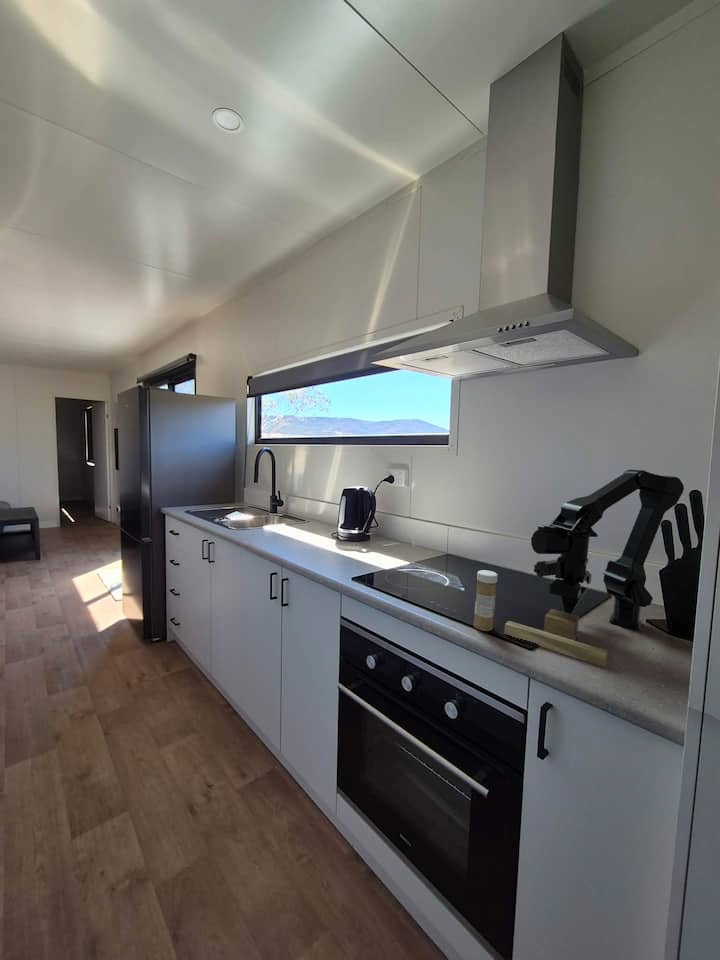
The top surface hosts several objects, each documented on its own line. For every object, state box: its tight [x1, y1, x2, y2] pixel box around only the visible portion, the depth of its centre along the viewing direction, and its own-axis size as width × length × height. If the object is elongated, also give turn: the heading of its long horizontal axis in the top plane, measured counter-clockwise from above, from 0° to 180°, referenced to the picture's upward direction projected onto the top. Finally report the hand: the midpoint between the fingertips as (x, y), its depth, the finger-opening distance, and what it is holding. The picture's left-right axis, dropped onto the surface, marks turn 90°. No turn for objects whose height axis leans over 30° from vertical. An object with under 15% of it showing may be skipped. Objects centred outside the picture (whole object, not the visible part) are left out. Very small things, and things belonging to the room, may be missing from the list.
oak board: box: [503, 620, 608, 668], centre depth 87 cm, size 2×20×2 cm, turn 52°
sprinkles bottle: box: [473, 569, 498, 632], centre depth 95 cm, size 5×5×14 cm
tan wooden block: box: [543, 608, 580, 641], centre depth 93 cm, size 6×6×5 cm
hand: (567, 615), depth 99 cm, fingers closed
